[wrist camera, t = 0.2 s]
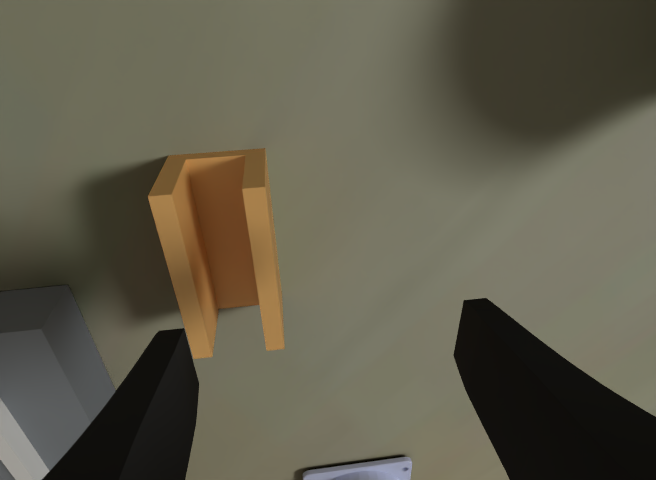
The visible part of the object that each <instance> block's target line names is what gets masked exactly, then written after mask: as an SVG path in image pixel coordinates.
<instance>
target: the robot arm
mask: <svg viewBox="0 0 656 480" xmlns="http://www.w3.org/2000/svg"><path fill="white" fill-rule="evenodd" d="M454 358H455V361H456V364H457V367H458V370H459V373H460V376H461V379H462V381H463V384H464V387H465V390H466V392H467V394H468V396H469V398H470V400H471V402H472V404H473V406H474V408H475V411H476V413H477V415H478V417H479V419H480V421H481V423H482V425H483V427H484V429H485V431H486V433H487V435H488V437H489V439H490V441H491V443H492V445H493V447H494V449H495V451H496V453H497V455H498V457H499V459H500V461H501V463H502V465H503V467H504V469H505V470H506V473H507V475H508V477H509V479H510V480H656V417H655V416H653V415H651V414H650V413H648V412H646V411H645V410H643V409H641V408H640V407H638V406H636V405H635V404H633V403H631V402H630V401H628V400H626V399H625V398H623V397H621V396H620V395H618V394H616V393H615V392H613V391H612V390H610V389H608V388H607V387H605V386H604V385H602V384H601V383H599V382H598V381H596V380H595V379H593V378H592V377H590V376H589V375H588V374H586V373H585V372H583V371H582V370H580V369H579V368H577V367H576V366H574V365H573V364H572V363H570V362H569V361H567V360H566V359H565V358H563V357H562V356H560V355H559V354H558V353H556V352H555V351H554V350H552V349H551V348H550V347H548V346H547V345H546V344H544V343H543V342H542V341H540V340H539V339H538V338H537V337H535V336H534V335H533V334H531V333H530V332H529V331H528V330H526V329H525V328H524V327H523V326H521V325H520V324H519V323H517V322H516V321H515V320H514V319H512V318H511V317H510V316H509V315H507V314H506V313H505V312H504V311H502V310H501V309H500V308H499V307H497V306H496V305H495V304H493V303H492V302H491V301H489V300H488V299H487V298H482V299H472V300H464V302H463V308H462V313H461V318H460V324H459V329H458V334H457V340H456V345H455V350H454ZM198 392H199V382H198V378H197V374H196V371H195V367H194V363H193V359H192V356H191V352H190V348H189V345H188V341H187V337H186V333H185V330H184V328H183V329H173V330H163V331H159V332H158V333H157V334H156V335H155V336H154V338H153V339H152V341H151V342H150V343H149V345H148V346H147V348H146V349H145V351H144V352H143V354H142V355H141V357H140V358H139V360H138V361H137V362H136V364H135V365H134V367H133V368H132V370H131V371H130V372H129V374H128V375H127V377H126V378H125V379H124V381H123V382H122V383H121V385H120V386H119V387H118V389H117V390H116V391H115V393H114V394H113V396H112V397H111V398H110V400H109V401H108V402H107V404H106V405H105V406H104V407H103V409H102V410H101V411H100V413H99V414H98V415H97V416H96V417H95V419H94V420H93V421H92V422H91V424H90V425H89V426H88V427H87V429H86V430H85V431H84V432H83V433H82V435H81V436H80V437H79V438H78V440H77V441H76V442H75V443H74V444H73V445H72V447H71V448H70V449H69V450H68V451H67V452H66V453H65V455H64V456H63V457H62V458H61V459H60V460H59V461H58V463H57V464H56V465H55V466H54V467H53V468H52V469H51V470H50V471H49V472H48V473H47V474H46V476H45V477H44V478H43V479H42V480H185V477H186V472H187V467H188V462H189V457H190V452H191V447H192V442H193V437H194V431H195V426H196V417H197V406H198ZM411 469H412V462H411V459H410V458H409V457H399V458H392V459H385V460H378V461H371V462H364V463H356V464H349V465H342V466H335V467H328V468H320V469H313V470H307V471H305V472H304V473H303V480H410V477H411Z"/></svg>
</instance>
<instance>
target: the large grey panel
mask: <svg viewBox="0 0 656 480" xmlns="http://www.w3.org/2000/svg"><path fill="white" fill-rule="evenodd" d="M114 393H115V388H114V386H113V384H112V382H111V379H110V377H109V375H108V373H107V371H106V368H105V366H104V364H103V362H102V359H101V357H100V355H99V353H98V350H97V348H96V346H95V344H94V341H93V339H92V337H91V335H90V333H89V330H88V328H87V326H86V324H85V321H84V319H83V317H82V315H81V312H80V310H79V308H78V306H77V304H76V301H75V299H74V297H73V295H72V292H71V290H70V288H69V286H68V285H61V286H51V287H41V288H31V289H20V290H10V291H0V480H42V479H43V478H44V477H45V476H46V474H47V473H48V472H49V471H50V470H51V469H52V468H53V467H54V466H55V465H56V464H57V463H58V461H59V460H60V459H61V458H62V457H63V456H64V455H65V453H66V452H67V451H68V450H69V449H70V448H71V447H72V445H73V444H74V443H75V442H76V441H77V440H78V438H79V437H80V436H81V435H82V433H83V432H84V431H85V430H86V429H87V427H88V426H89V425H90V424H91V422H92V421H93V420H94V419H95V417H96V416H97V415H98V414H99V413H100V411H101V410H102V409H103V407H104V406H105V405H106V404H107V402H108V401H109V400H110V398H111V397H112V396H113V394H114Z"/></svg>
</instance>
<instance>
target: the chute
mask: <svg viewBox="0 0 656 480" xmlns="http://www.w3.org/2000/svg"><path fill="white" fill-rule="evenodd" d="M148 199H149V203H150V206H151V210H152V213H153V217H154V220H155V224H156V227H157V231H158V234H159V238H160V241H161V245H162V248H163V252H164V256H165V259H166V263H167V266H168V270H169V273H170V277H171V280H172V284H173V287H174V291H175V294H176V298H177V301H178V305H179V308H180V312H181V315H182V319H183V322H184V326H185V330H186V333H187V337H188V340H189V344H190V347H191V351H192V354H193V358H194V359H198V358H207V357H212V355H213V348H214V340H215V333H216V326H217V318H218V311H219V309H223V308H232V307H242V306H252V305H260V310H261V317H262V323H263V330H264V336H265V343H266V349H267V351H269V350H278V349H285V347H284V327H283V306H282V291H281V282H280V274H279V265H278V256H277V247H276V239H275V230H274V221H273V212H272V204H271V195H270V186H269V177H268V169H267V160H266V151H265V148H264V149H250V150H237V151H223V152H210V153H196V154H183V155H170V156H168V157H167V159H166V161H165V163H164V165H163V167H162V169H161V171H160V173H159V175H158V177H157V179H156V181H155V183H154V185H153V187H152V189H151V191H150V193H149V195H148Z"/></svg>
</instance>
